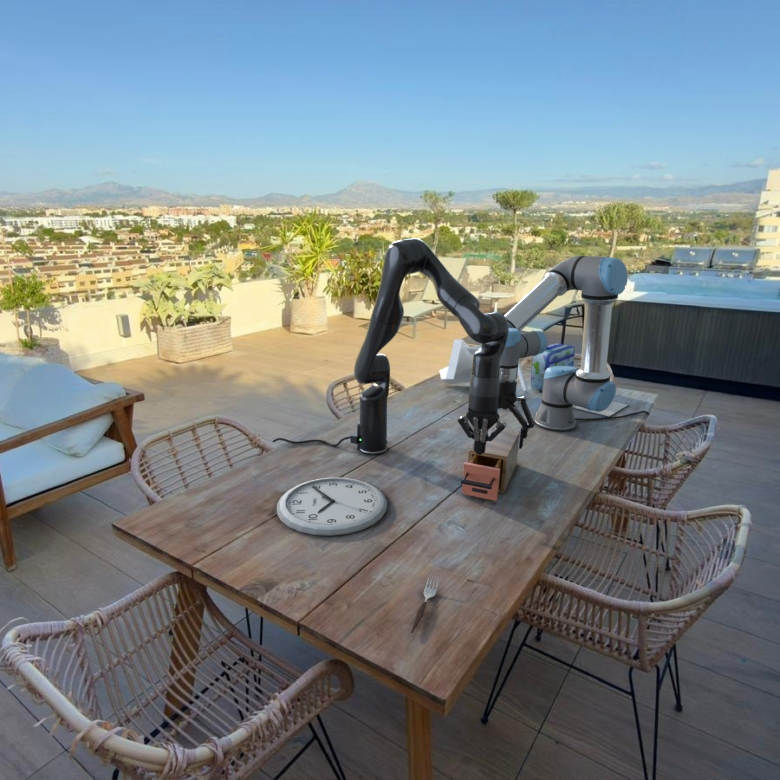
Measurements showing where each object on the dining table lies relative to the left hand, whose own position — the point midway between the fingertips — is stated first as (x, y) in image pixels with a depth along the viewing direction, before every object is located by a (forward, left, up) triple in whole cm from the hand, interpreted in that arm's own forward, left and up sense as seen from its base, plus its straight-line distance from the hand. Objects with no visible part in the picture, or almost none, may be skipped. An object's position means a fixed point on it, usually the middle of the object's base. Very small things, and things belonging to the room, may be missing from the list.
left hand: (479, 453), depth 139 cm
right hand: (-1, +28, -8) cm, 29 cm away
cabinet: (-1, +22, -16) cm, 27 cm away
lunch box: (+2, +125, -16) cm, 126 cm away
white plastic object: (-27, +102, -16) cm, 107 cm away
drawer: (0, +11, -15) cm, 18 cm away
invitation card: (+26, +107, -16) cm, 111 cm away
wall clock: (-36, -17, -16) cm, 42 cm away
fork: (+2, -44, -16) cm, 47 cm away
